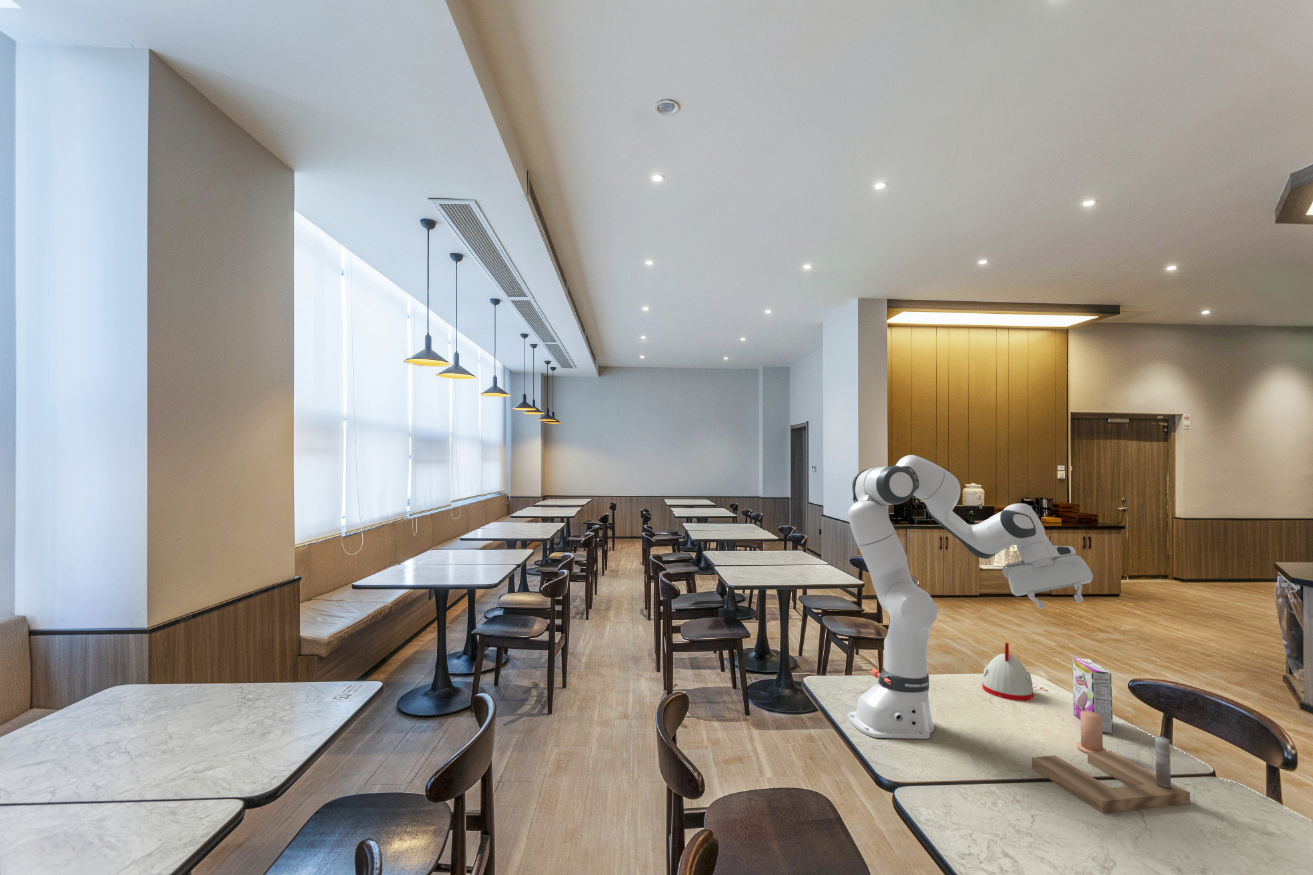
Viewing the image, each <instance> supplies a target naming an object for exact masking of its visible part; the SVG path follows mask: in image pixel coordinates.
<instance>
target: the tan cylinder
mask: <svg viewBox="0 0 1313 875" xmlns="http://www.w3.org/2000/svg"><path fill="white" fill-rule="evenodd" d="M1080 714H1081V720H1080V741H1079V742H1076V747H1077V749H1078V750H1079V751H1080V752H1081V753H1083V754H1085V755H1088V753H1090V752H1102V751H1108V750H1107V749H1106V748H1105V747H1104V737H1103V733H1102V716H1101V715H1099V714H1097V713H1094V712H1090V711H1081V712H1080Z"/></svg>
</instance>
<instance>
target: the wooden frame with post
mask: <svg viewBox="0 0 1313 875" xmlns="http://www.w3.org/2000/svg"><path fill="white" fill-rule="evenodd" d="M1170 742H1171V740H1170V739H1169V738H1166V737H1164V736H1158V735H1157V736H1155V737H1154V745H1155V746H1154V748H1155V773H1154V772H1152V771H1150V770H1148V769H1146V768H1144V767H1143V766H1142V765H1141V766H1140V765H1139V764H1137V763H1135V762H1133V761H1131V760H1130V759H1127V758H1125V757H1123V756H1121V755H1119V754H1117V753H1116V752H1114V751H1112V750H1107V751H1102V752H1090V753H1088V754H1087V763H1088V764H1089V765H1091V766H1093V767H1094V768H1097V769H1098V770H1100V771H1102V772H1103V773H1105V774H1107V775H1108V776H1110V777H1112V778H1114V779H1116V780H1118V781H1119V782H1121V783H1123V784H1125V785H1124V786H1116V787H1111V786H1108V785H1106V783H1103V782H1101V781H1100V780H1098V779H1097V778H1094V777H1093V776H1092V775H1089V774H1088V773H1087V772H1085V771H1083V770H1081V769H1079V768H1077V767H1076V766H1074V765H1073V764H1070V763H1069V762H1067V761H1066V760H1064V759H1063V758H1061V757H1059V756H1057V755H1047V756H1046V755H1045V756H1044V755H1043V756H1034V757H1031V769H1033V770H1035V771H1036V772H1037V773H1039V774H1040V775H1043V776H1044V777H1046V778H1047V779H1049V780H1050V781H1052V782H1053V783H1055V784H1056V785H1058V786H1060V787H1061V788H1063V789H1064V790H1066V791H1067V792H1069V793H1070V794H1072V795H1074V796H1075V797H1077V798H1078V799H1080V800H1081V801H1083V802H1085V803H1086V804H1088V805H1089V806H1091V807H1092V808H1094V809H1095V810H1097V811H1098V812H1100V813H1102V814H1105V813H1115V812H1125V811H1133V810H1145V809H1153V808H1154V809H1155V808H1163V807H1171V806H1181V805H1190V804H1191V793H1190V792H1191V791H1188V790H1187V789H1184V788H1182V787H1180V786H1179V785H1177V784H1176V783H1175V784H1174V783H1173V782H1171V780H1172V779H1171V776H1172V775H1171V774H1172V773H1171V746H1170V745H1171V744H1170Z"/></svg>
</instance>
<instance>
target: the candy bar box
mask: <svg viewBox="0 0 1313 875" xmlns="http://www.w3.org/2000/svg"><path fill="white" fill-rule="evenodd" d="M1071 661H1072V665H1071V666H1072V688H1073V690H1072V692H1073V715H1074V716H1075V717H1076V718H1077V719H1079V720H1080V721H1081V714H1080V712H1081V711H1090V712H1094V713H1097V714H1099V715H1101V716H1102V733H1104V734H1114V723H1113V721H1114V720H1113V690H1112V687H1113V686H1112V672H1110V671H1109V670H1107V669H1105V668H1104V667H1103V666H1101V665H1100V664H1098V663H1097V662H1095V661H1093V660H1091V659H1090V658H1077V657H1076V658H1075V657H1072V658H1071Z"/></svg>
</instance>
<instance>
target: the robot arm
mask: <svg viewBox="0 0 1313 875" xmlns="http://www.w3.org/2000/svg"><path fill="white" fill-rule="evenodd" d="M851 489H852V501H853V502H854V503H853V504H852V505H851V506H850V508H848V511H847V517H848V523H849V526H850V529H851V533H852V535H853V537H854V540H855V542H856V545H857V548H858V549H859V551H860V554H861V556H862V558H863V562H864V563H865V565H866V568H867V570H868V573H869V576H870V579H871V582H872V583H871V584H872V586H873V589H874V591H875V594H876V597H877V600H878V604H880V606H881V608H882V609H883V610H884V611H885V612H886V613H887V614H888V615H889V625H888V630H887V635H886V636H885V638H884V640H883V648H884V649H883V651H884V652H883V653H884V655H883V656H884V659H883V663H884V664H883V666H884V667H883V668H882V670H881V671H879V670H877V669H876V668H872V670H871V672H870V673H871V674H870V675H871V676H872V677H874V678H876V679H878V681H877V682H876V683H875V684H874V685H873V686H871V687H870V688H869V689H868V690H867V691H865V692H863V693H862V694H861V695H860V696H859V697H858V700H857V705H856V710H853V711H850V712H848V714H847V716H848V721H849V722H850V723H851V725H852V726H854V727H855V728H856V729H857V730H858V731H860V732H861V733H863V734H865V735H867V736H870V737H872V738H875V739H876V738H879V739H882V738H883V739H920V740H921V739H922V740H924V739H925V740H928V739H931V733H932V732H934V730H935V724H934V721H933V717H932V713H931V708H930V700H929V690H930V675H929V673H928V643H929V638H930V633H931V630H932V625H933V624H934V623H935V622H936V620H937V617H938V607H937V604H936V602H935V601H934V600H933V599H934V598H932V596H931V595H930V594H929V592H927V591H926V590H925V589H923V588H921V587H920V586H918V585H917V584H916V583H915V581H914V580H913V577H912V575H911V572H910V569H909V565H908V556H907V554H906V551H905V549H904V547H903V545H902V543H901V541H900V538H899V536H898V534H897V531H896V530H895V527H894V525H893V524H892V521H891V520H890V515H889V507H890V506H891V505H900V504H904V503H905V502H907V501H909V500H910V499H911V498H912V497H913V496H914V497H915V498H917V499H918V500H920V501H921V502H922V503H924V504H925V508H926V512H927V514H928V515H929V516H930V517H931V519H933V521H935V522H936V523H937V524H939V525H940V526H941V527H942V528H943V529H944V530H945V531H947V532H948V533H949V534H950V535H951V536H953V537H954V538H956V539H957V540H958V541H959V542H960V543H961V544H963V546H964V547H965V549H966V550H967V551H968V552H969V553H970V554H972V555H973V556H975V557H977V558H980V559H984V560H987V559H991V558H992V557H995V556H996V555H998V554H999V553H1001V552H1003V551H1005V550H1006V549H1009V548H1010V547H1013V546H1016V549H1017V550H1016V551H1017V553H1018V556H1019V557H1020V560H1017V561H1014V562H1009V563H1005V565H1004V566H1002V568H1001V571H1002V574H1003V576H1004V577H1005V578H1006V579H1007V580H1008V584H1009V585H1008V586H1009V589H1010V592H1011V594H1012V595H1014V596H1015V597H1020V596H1025V595H1027V597H1028V598H1029V599H1030V600H1031V601H1032V602H1033V603H1035V604H1036V606H1037V609H1038V610H1040V609H1045V608H1046V605H1045V604H1044V601H1043V600H1039V599H1038V598H1036V597H1035V595H1036V593H1041V592H1047V591H1052V590H1058V589H1062V588H1063V589H1064V588H1068V587H1073V588H1074V589H1075V590H1077V592H1076V593H1077V594H1076V593H1075V594H1074V595H1073V597H1074V600H1075V602H1076V603H1081V602H1084V597H1083V595H1082V590H1083V585H1085V584H1090V583H1091V582H1092V581H1093V579H1094V575H1093V572H1092V570H1091V568H1090V567H1089V566H1088V564H1087V563H1086V561H1085V560H1084V559H1083V558H1082V557H1081V556H1080V555H1078V554H1076V553H1077V552H1076V549H1075V548H1074V547H1073V546H1068V545H1054V544H1052V542H1051V541H1050V540H1049V538H1048V537H1047V535H1046V530H1045V527H1044V525H1043V523H1042V521H1041V519H1040V518H1039V517H1038V515H1037V513H1036V512H1035V511H1034V508H1032V506H1030V505H1029V504H1027V503H1023V502H1022V503H1019V502H1018V503H1012V504H1009V505H1008V506H1006V507H1004V508H1003V510H1001V511H999V512H998V513H996V514H993V515H992V516H990V517H989V518H987V519H985V520H982V521H981V522H979V523H976V524H969V523H967V522H966V521H965V520H963V519H962V518H961V517H960V515H958V514H956V513H955V512H954V508H955V507H956V506H957V504H958V502H959V501H960V496H961V485H960V482H959V480H958V478H957V477H956V476H954V475H953V473H951V472H949V471H948V470H946V469H945V468H943V467H941V466H940V465H937V464H936V463H934V462H932V461H929V460H928V459H925V458H923V457H921V456H917V455H915V454H908V455H905V456H903V457H901V458H900V459H899V460H898V461H897V463H896V464H895V465H890V466H875V467H872V468H867V469H864V470H861V471H860V472H859V473H857V474H856V475H855V477H854V478H853V480H852V484H851Z"/></svg>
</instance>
